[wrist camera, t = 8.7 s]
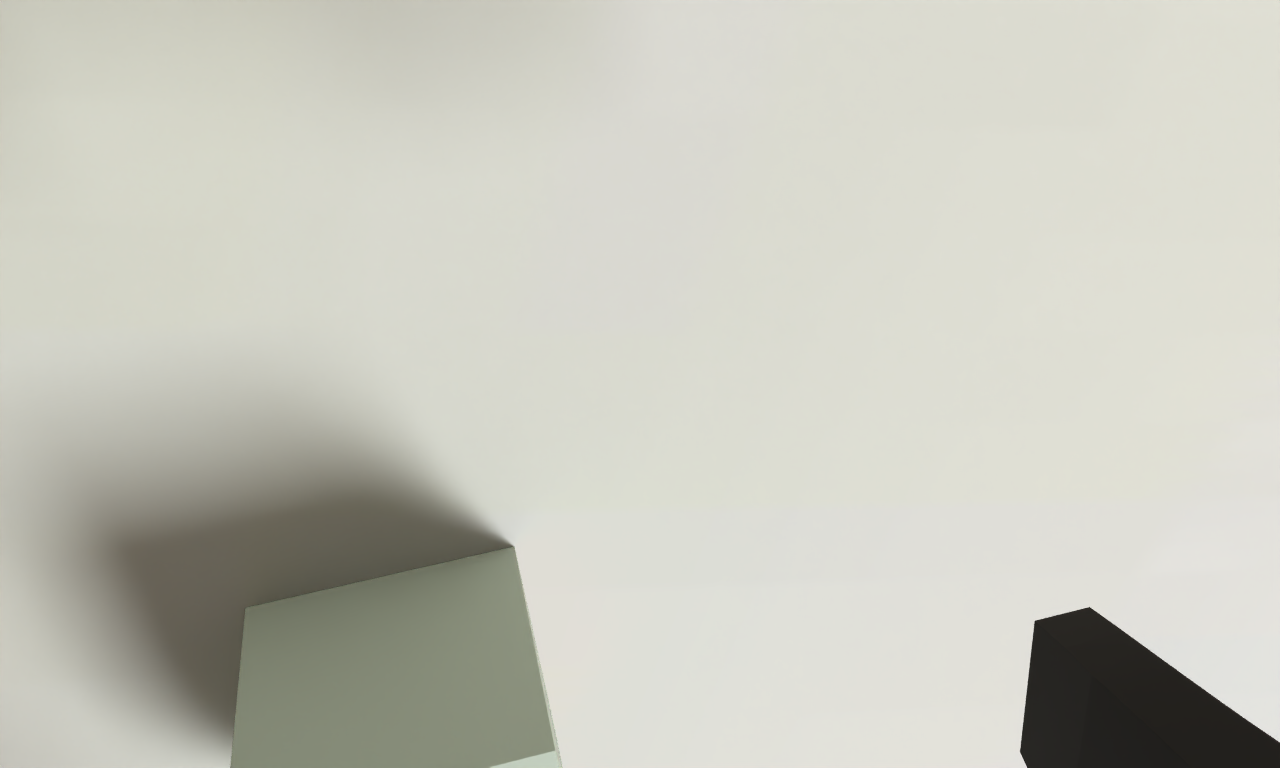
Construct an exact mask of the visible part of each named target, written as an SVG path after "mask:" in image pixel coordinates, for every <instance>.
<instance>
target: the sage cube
mask: <svg viewBox="0 0 1280 768" xmlns="http://www.w3.org/2000/svg"><path fill="white" fill-rule="evenodd" d="M230 768H562V763H561V758H560V753H559V748H558V743H557V738H556V734H555V729H554V724H553V719H552V715H551V710H550V706H549V701H548V697H547V692H546V688H545V683H544V679H543V674H542V670H541V665H540V661H539V656H538V652H537V647H536V643H535V638H534V634H533V629H532V625H531V620H530V616H529V611H528V606H527V602H526V597H525V593H524V588H523V584H522V579H521V575H520V570H519V566H518V561H517V557H516V552H515V548H514V547H509V548H505V549H501V550H496V551H492V552H488V553H483V554H479V555H474V556H470V557H466V558H461V559H457V560H453V561H448V562H444V563H439V564H435V565H431V566H426V567H422V568H418V569H413V570H409V571H404V572H400V573H396V574H391V575H387V576H383V577H378V578H374V579H369V580H365V581H361V582H356V583H352V584H348V585H343V586H339V587H334V588H330V589H326V590H321V591H317V592H312V593H308V594H304V595H299V596H295V597H291V598H286V599H282V600H277V601H273V602H269V603H264V604H260V605H256V606H251V607H247V608H245V618H244V628H243V639H242V650H241V660H240V671H239V682H238V692H237V703H236V714H235V724H234V735H233V745H232V756H231V767H230Z"/></svg>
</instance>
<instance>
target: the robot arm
mask: <svg viewBox="0 0 1280 768" xmlns="http://www.w3.org/2000/svg"><path fill="white" fill-rule="evenodd" d="M1020 753H1021V755H1022V757H1023V759H1024V761H1025V763H1026V766H1027V768H1280V742H1278V741H1277V740H1275V739H1274V738H1272V737H1271V736H1269V735H1268V734H1267V733H1265V732H1264V731H1262V730H1261V729H1259V728H1258V727H1256V726H1255V725H1253V724H1252V723H1250V722H1249V721H1247V720H1246V719H1245V718H1243V717H1242V716H1240V715H1239V714H1237V713H1236V712H1235V711H1233V710H1232V709H1230V708H1229V707H1228V706H1226V705H1225V704H1223V703H1222V702H1220V701H1219V700H1218V699H1216V698H1215V697H1213V696H1212V695H1211V694H1209V693H1208V692H1206V691H1205V690H1204V689H1202V688H1201V687H1200V686H1198V685H1197V684H1195V683H1194V682H1193V681H1191V680H1190V679H1188V678H1187V677H1186V676H1184V675H1183V674H1181V673H1180V672H1179V671H1177V670H1176V669H1175V668H1173V667H1172V666H1170V665H1169V664H1168V663H1166V662H1165V661H1163V660H1162V659H1161V658H1159V657H1158V656H1157V655H1155V654H1154V653H1152V652H1151V651H1150V650H1148V649H1147V648H1146V647H1144V646H1143V645H1142V644H1140V643H1139V642H1137V641H1136V640H1135V639H1133V638H1132V637H1130V636H1129V635H1128V634H1126V633H1125V632H1124V631H1122V630H1121V629H1119V628H1118V627H1117V626H1115V625H1114V624H1112V623H1111V622H1110V621H1108V620H1107V619H1105V618H1104V617H1103V616H1101V615H1100V614H1098V613H1097V612H1096V611H1094V610H1093V609H1091V608H1090V607H1088V608H1084V609H1080V610H1076V611H1072V612H1068V613H1064V614H1060V615H1056V616H1052V617H1048V618H1044V619H1040V620H1036V621H1035V624H1034V633H1033V642H1032V650H1031V659H1030V668H1029V677H1028V686H1027V695H1026V704H1025V713H1024V722H1023V731H1022V740H1021V749H1020Z"/></svg>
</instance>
